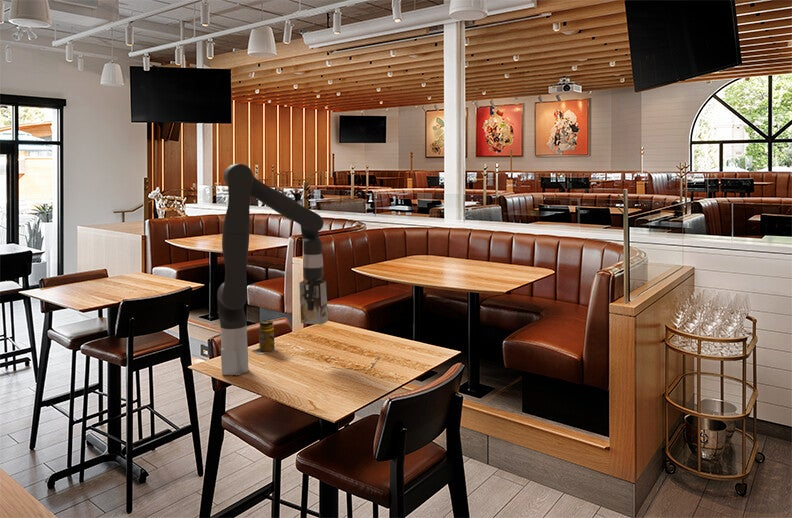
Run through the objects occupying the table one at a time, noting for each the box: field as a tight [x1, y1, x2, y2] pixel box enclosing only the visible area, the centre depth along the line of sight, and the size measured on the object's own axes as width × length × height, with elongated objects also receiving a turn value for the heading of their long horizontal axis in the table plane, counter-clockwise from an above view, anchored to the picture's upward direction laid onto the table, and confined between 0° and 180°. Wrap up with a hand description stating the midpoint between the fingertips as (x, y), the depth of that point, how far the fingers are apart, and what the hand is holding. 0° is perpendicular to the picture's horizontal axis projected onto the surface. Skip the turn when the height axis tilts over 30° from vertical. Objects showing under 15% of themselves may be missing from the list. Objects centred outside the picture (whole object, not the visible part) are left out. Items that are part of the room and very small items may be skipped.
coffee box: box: [299, 279, 329, 326], centre depth 221 cm, size 9×6×16 cm
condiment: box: [251, 320, 279, 355], centre depth 235 cm, size 7×8×12 cm
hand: (314, 308), depth 221 cm, fingers closed on coffee box, 6 cm apart
